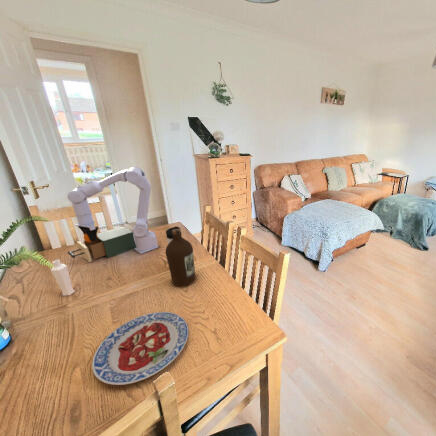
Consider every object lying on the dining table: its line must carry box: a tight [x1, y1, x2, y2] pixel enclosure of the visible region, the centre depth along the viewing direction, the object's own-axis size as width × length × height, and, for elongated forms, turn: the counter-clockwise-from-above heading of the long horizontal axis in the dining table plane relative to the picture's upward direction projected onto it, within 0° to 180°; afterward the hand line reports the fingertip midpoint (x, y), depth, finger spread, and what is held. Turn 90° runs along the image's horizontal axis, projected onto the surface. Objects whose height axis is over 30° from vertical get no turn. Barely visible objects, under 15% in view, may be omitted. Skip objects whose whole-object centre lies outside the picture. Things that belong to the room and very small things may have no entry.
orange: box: [83, 234, 94, 242], centre depth 118 cm, size 5×5×5 cm
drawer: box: [67, 238, 107, 263], centre depth 119 cm, size 17×10×8 cm, turn 145°
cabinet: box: [97, 226, 137, 259], centre depth 127 cm, size 14×12×10 cm
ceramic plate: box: [91, 311, 189, 386], centre depth 75 cm, size 26×26×3 cm
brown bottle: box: [165, 228, 196, 288], centre depth 102 cm, size 11×11×25 cm
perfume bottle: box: [50, 259, 76, 297], centre depth 94 cm, size 5×4×15 cm
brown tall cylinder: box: [165, 226, 182, 245], centre depth 113 cm, size 6×7×20 cm
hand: (91, 239), depth 118 cm, fingers closed on orange, 5 cm apart
